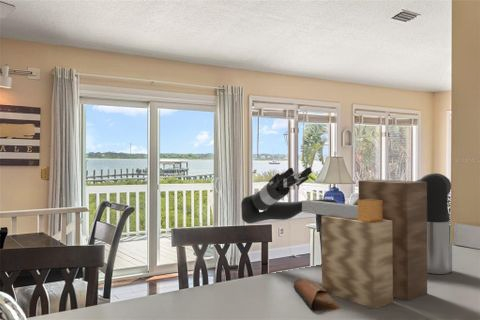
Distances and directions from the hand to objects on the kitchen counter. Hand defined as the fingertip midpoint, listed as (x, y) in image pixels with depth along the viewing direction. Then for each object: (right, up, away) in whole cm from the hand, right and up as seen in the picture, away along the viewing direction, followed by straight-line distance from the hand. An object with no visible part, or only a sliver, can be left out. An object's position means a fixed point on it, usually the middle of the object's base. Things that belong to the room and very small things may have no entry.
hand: (301, 169), depth 141 cm
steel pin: (+8, -13, -19) cm, 25 cm away
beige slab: (+12, -35, -24) cm, 44 cm away
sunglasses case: (0, -36, -25) cm, 44 cm away
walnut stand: (+24, -35, -18) cm, 46 cm away
